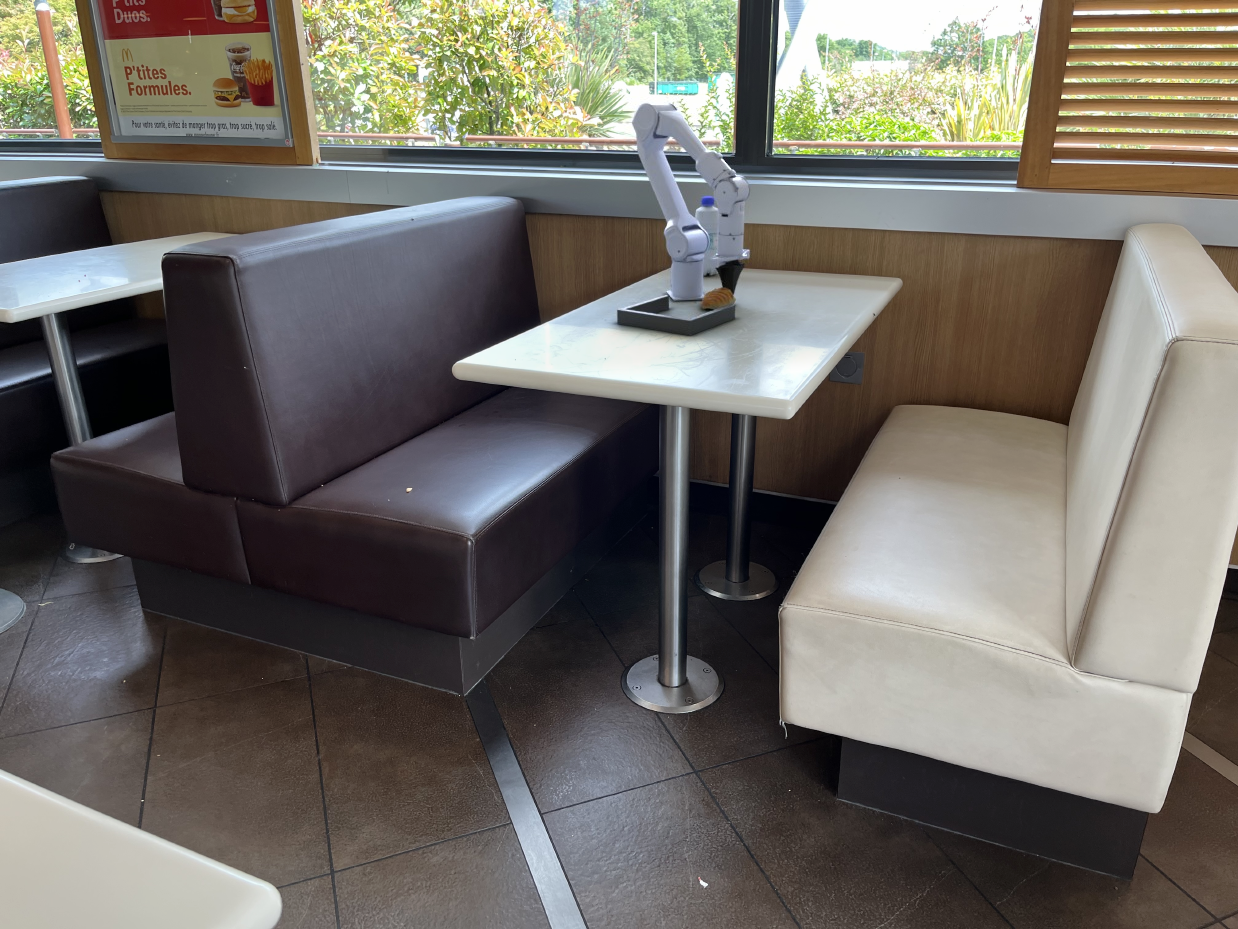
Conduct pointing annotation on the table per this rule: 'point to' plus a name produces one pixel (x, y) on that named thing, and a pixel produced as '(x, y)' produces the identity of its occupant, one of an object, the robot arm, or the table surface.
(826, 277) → the table surface
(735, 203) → the robot arm
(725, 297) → the pastry
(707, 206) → the bottle
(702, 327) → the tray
